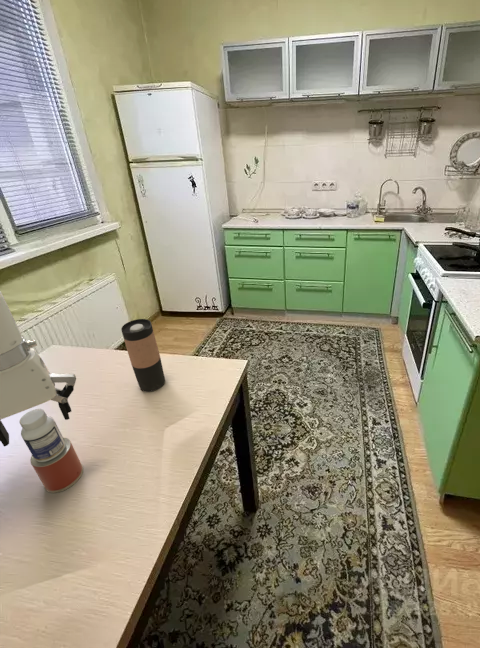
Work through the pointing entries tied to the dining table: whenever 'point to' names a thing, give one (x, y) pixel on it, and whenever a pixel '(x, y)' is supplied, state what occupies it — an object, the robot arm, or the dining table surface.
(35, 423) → the pill bottle
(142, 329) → the travel mug
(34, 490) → the dining table surface
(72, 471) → the tin can
